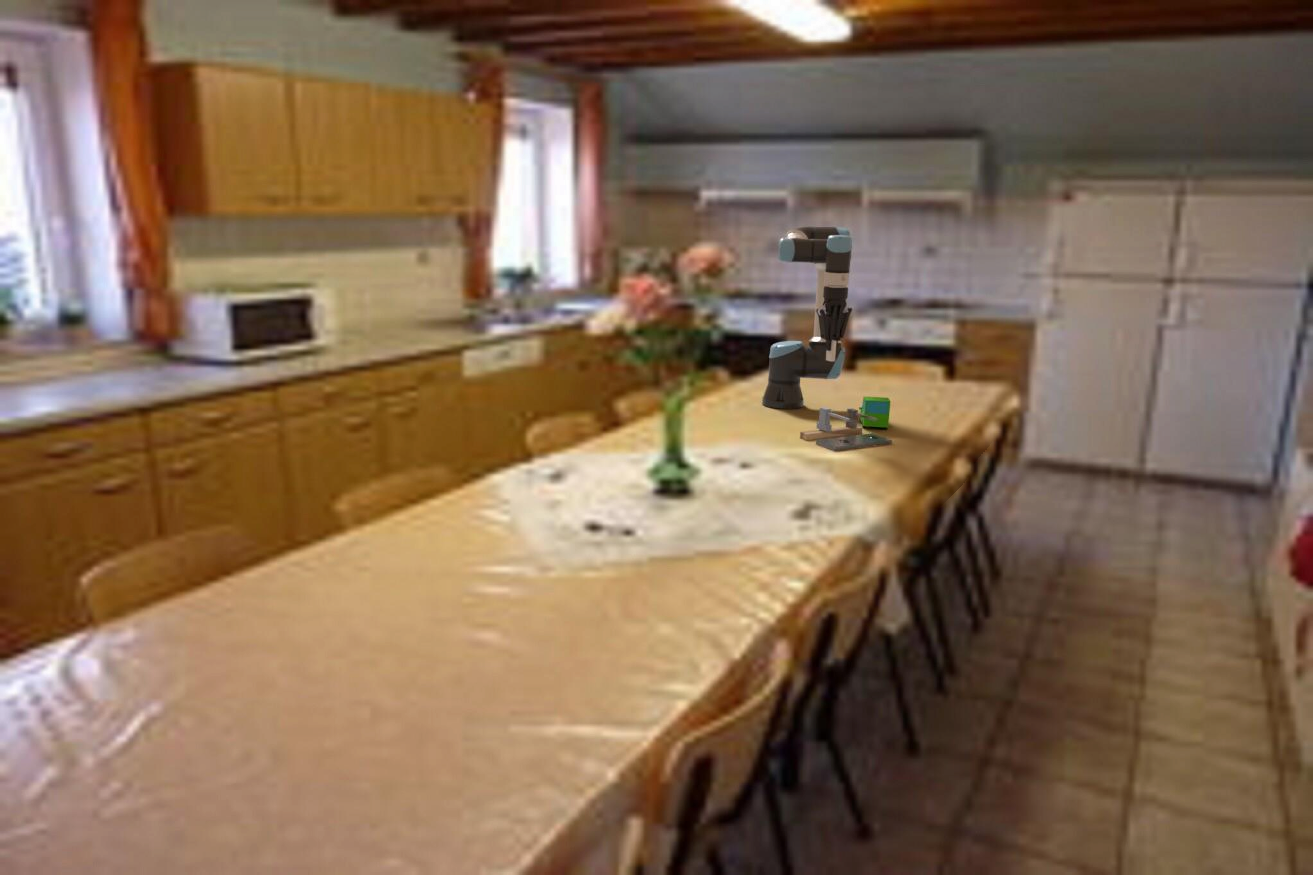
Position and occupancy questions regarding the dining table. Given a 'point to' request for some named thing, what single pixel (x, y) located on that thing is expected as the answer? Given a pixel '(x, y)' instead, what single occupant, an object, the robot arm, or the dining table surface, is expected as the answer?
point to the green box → (875, 411)
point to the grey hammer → (827, 419)
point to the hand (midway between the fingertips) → (830, 360)
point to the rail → (841, 431)
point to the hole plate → (853, 442)
